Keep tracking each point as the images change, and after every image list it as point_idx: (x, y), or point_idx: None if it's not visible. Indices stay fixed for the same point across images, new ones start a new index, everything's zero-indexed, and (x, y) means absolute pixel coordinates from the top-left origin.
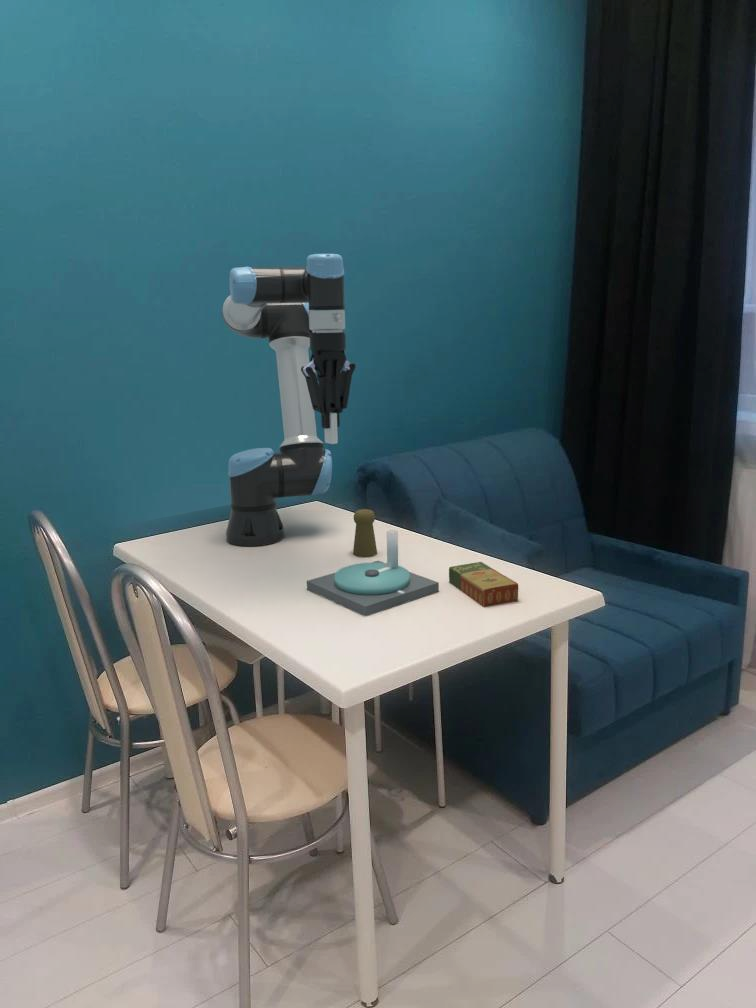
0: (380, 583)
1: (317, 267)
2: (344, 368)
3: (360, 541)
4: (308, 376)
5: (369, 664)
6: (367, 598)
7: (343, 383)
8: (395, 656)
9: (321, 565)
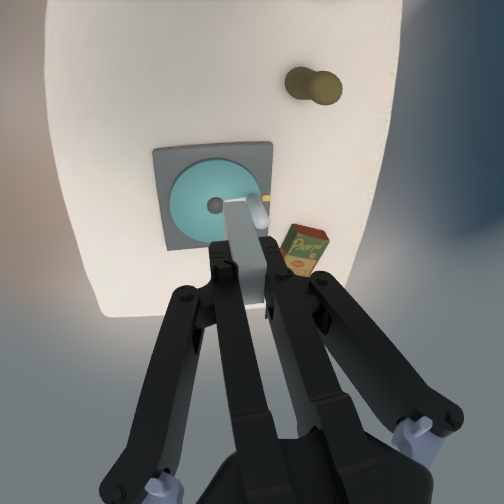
0: (205, 232)
1: None
2: (394, 441)
3: (296, 90)
4: (143, 458)
5: (130, 305)
6: (180, 236)
7: (363, 378)
8: (150, 305)
9: (222, 80)
